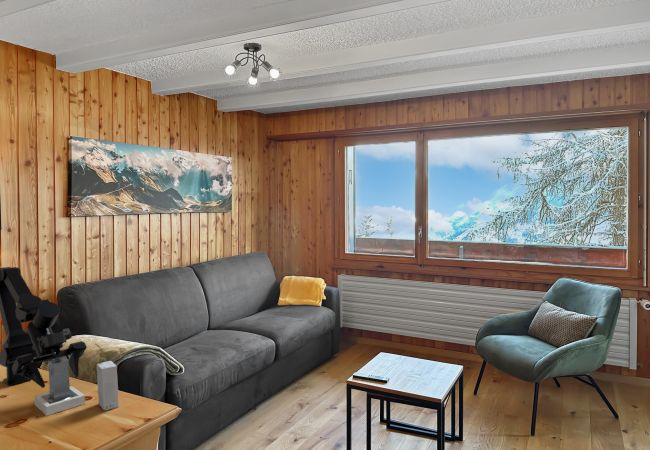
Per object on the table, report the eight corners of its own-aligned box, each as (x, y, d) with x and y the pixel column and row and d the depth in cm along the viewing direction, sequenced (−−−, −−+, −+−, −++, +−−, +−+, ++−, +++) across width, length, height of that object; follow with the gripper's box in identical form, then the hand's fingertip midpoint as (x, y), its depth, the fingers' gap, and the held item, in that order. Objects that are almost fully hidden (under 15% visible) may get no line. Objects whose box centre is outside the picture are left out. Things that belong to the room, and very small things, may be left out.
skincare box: (119, 407, 132) (118, 365, 131) (102, 411, 129) (101, 369, 128) (113, 399, 137) (112, 359, 136) (96, 403, 134) (96, 363, 133)
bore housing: (34, 404, 133) (34, 396, 133) (71, 393, 140) (71, 385, 140) (46, 415, 126) (46, 406, 126) (85, 403, 134) (84, 395, 134)
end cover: (44, 404, 133) (43, 360, 132) (67, 398, 138) (66, 355, 137) (52, 411, 129) (50, 365, 128) (75, 404, 134) (73, 360, 133)
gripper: (14, 328, 127) (33, 376, 121) (83, 315, 142) (102, 357, 136) (4, 351, 132) (21, 398, 126) (71, 335, 147) (89, 377, 141)
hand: (61, 381), depth 132 cm, fingers open, 9 cm apart
